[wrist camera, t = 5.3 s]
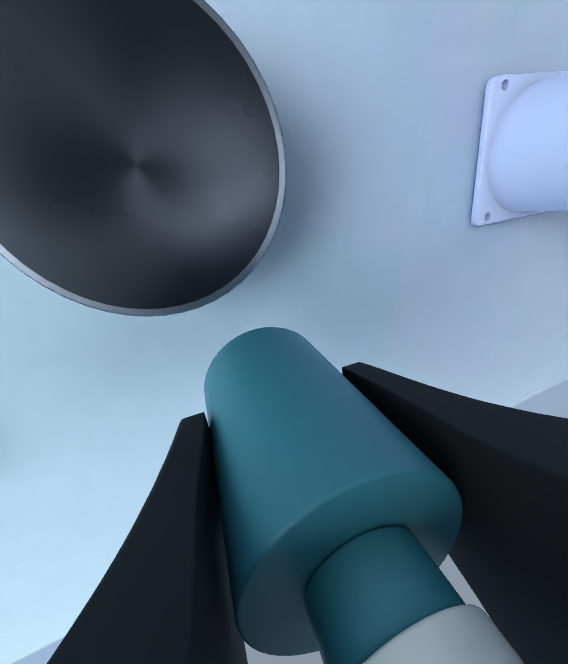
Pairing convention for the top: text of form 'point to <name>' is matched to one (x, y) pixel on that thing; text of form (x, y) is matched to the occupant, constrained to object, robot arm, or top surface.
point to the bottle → (333, 517)
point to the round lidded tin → (134, 153)
